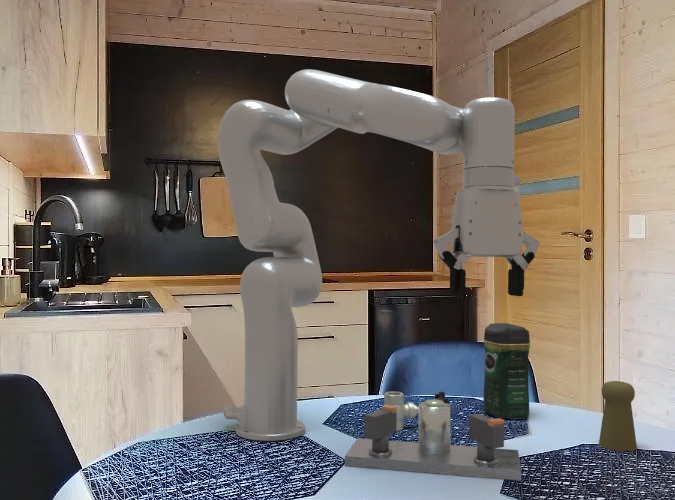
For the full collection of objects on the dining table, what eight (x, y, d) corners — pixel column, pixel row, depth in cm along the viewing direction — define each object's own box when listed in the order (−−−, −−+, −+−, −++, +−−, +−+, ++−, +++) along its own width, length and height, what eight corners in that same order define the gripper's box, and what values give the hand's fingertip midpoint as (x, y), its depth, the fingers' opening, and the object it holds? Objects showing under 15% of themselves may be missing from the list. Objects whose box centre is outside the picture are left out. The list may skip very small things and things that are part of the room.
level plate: (344, 465, 100) (345, 406, 100) (357, 447, 110) (357, 392, 110) (521, 480, 94) (521, 417, 94) (518, 459, 104) (518, 402, 104)
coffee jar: (536, 419, 130) (536, 325, 130) (499, 421, 128) (500, 326, 128) (511, 408, 139) (512, 320, 139) (477, 410, 137) (478, 321, 137)
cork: (637, 444, 113) (637, 380, 113) (637, 453, 108) (637, 386, 108) (599, 439, 116) (600, 377, 116) (597, 448, 110) (598, 383, 110)
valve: (387, 434, 118) (450, 431, 121) (388, 397, 118) (450, 395, 121) (378, 424, 125) (437, 422, 127) (378, 390, 125) (437, 388, 127)
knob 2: (467, 454, 100) (467, 412, 100) (481, 452, 101) (481, 410, 102) (490, 466, 95) (491, 421, 95) (505, 464, 96) (505, 419, 96)
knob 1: (376, 457, 99) (377, 414, 99) (362, 453, 100) (362, 411, 100) (397, 447, 103) (398, 407, 103) (383, 444, 105) (384, 404, 105)
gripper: (524, 187, 105) (523, 294, 105) (425, 182, 100) (424, 294, 99) (552, 182, 97) (551, 297, 97) (447, 176, 92) (446, 298, 92)
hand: (487, 295), depth 98 cm, fingers open, 9 cm apart
